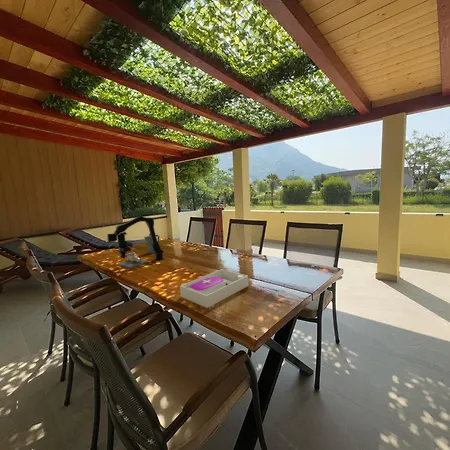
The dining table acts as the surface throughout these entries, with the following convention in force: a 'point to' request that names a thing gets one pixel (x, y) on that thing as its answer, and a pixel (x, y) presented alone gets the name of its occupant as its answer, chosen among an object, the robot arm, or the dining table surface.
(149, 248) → the moka pot
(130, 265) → the valve board
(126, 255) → the valve lever
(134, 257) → the valve body
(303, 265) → the dining table surface
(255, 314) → the dining table surface
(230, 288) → the white tray with pad
